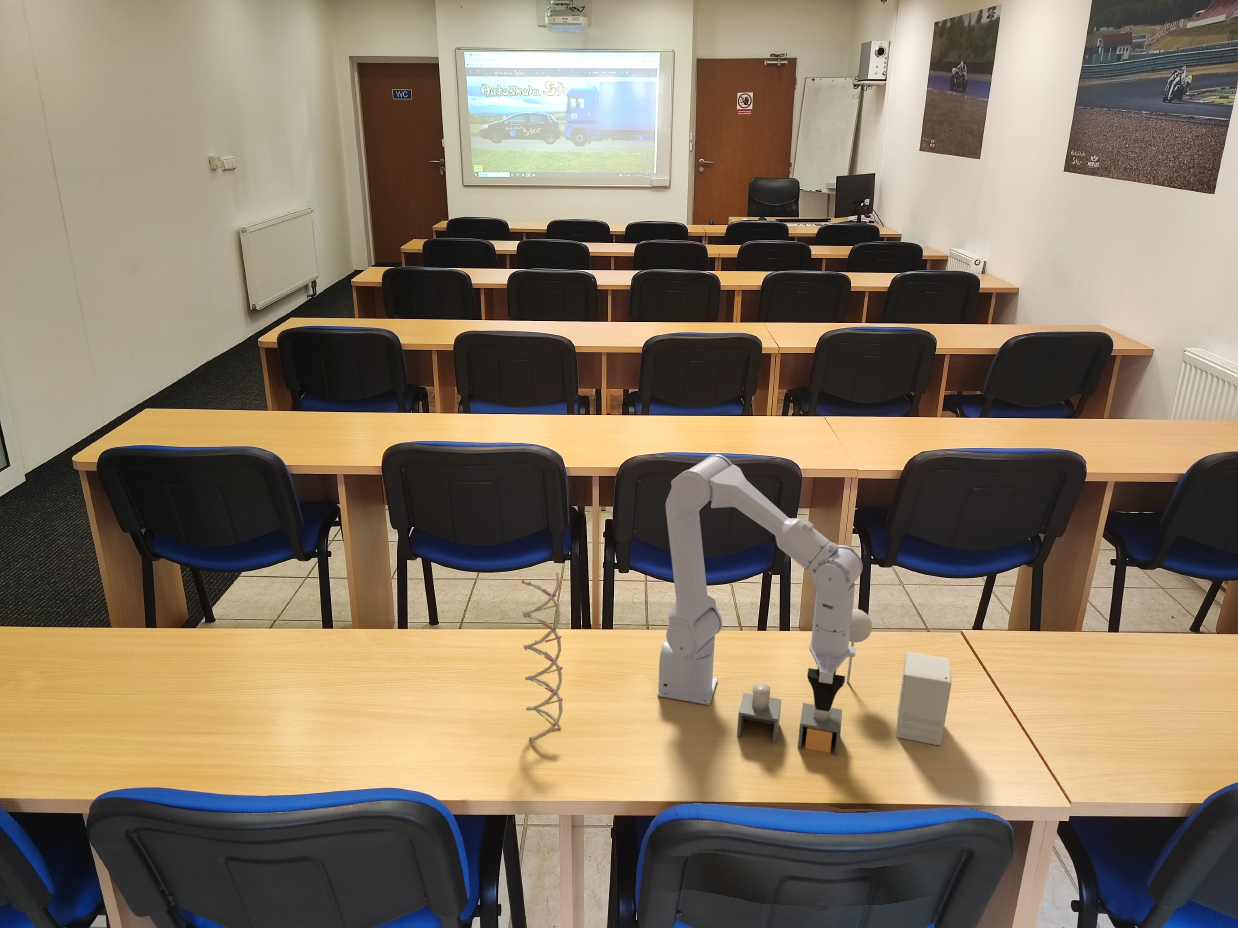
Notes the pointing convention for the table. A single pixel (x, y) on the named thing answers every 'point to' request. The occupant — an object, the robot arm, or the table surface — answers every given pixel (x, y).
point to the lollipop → (858, 631)
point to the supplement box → (924, 698)
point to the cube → (818, 739)
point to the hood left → (760, 708)
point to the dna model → (546, 656)
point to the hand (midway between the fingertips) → (824, 694)
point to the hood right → (820, 722)
